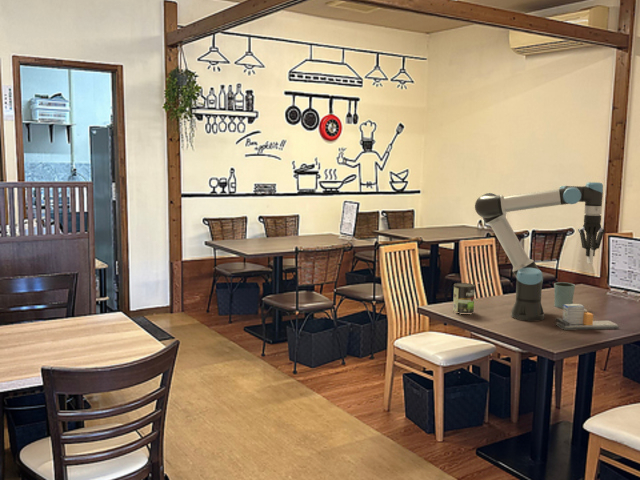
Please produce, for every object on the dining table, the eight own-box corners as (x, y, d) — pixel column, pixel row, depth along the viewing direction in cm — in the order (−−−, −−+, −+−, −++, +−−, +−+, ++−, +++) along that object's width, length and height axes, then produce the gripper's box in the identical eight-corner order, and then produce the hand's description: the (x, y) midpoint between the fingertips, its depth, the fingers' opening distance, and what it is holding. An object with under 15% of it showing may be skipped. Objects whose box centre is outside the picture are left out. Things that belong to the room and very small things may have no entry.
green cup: (570, 304, 326) (571, 282, 324) (576, 309, 316) (577, 286, 314) (550, 304, 327) (551, 282, 325) (555, 308, 317) (557, 285, 315)
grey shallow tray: (565, 330, 277) (565, 323, 277) (555, 324, 286) (555, 318, 286) (619, 329, 280) (620, 321, 279) (608, 323, 289) (609, 316, 288)
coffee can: (478, 312, 308) (479, 285, 306) (465, 316, 301) (466, 287, 300) (461, 308, 316) (462, 281, 314) (448, 311, 309) (449, 284, 307)
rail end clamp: (586, 325, 278) (587, 312, 277) (576, 320, 287) (576, 307, 286) (592, 325, 278) (593, 312, 277) (582, 319, 287) (582, 307, 286)
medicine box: (578, 322, 285) (579, 303, 283) (583, 324, 280) (584, 305, 279) (562, 322, 284) (563, 303, 283) (566, 324, 279) (567, 306, 278)
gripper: (583, 215, 291) (580, 264, 295) (610, 215, 293) (606, 264, 296) (575, 214, 299) (573, 261, 302) (601, 213, 300) (598, 261, 303)
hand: (589, 263), depth 299 cm, fingers closed
